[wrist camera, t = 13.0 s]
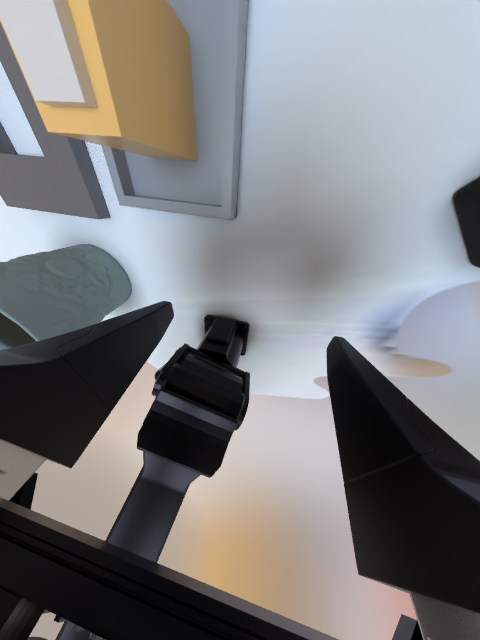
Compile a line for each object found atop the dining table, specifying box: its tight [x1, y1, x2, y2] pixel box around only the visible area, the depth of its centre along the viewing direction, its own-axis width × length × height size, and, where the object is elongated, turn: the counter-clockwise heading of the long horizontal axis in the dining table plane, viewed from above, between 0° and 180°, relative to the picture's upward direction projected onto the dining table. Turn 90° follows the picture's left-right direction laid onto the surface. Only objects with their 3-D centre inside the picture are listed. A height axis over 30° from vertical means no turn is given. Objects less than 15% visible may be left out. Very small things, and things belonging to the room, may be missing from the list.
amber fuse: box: [0, 0, 197, 161], centre depth 9 cm, size 6×4×9 cm
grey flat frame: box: [0, 22, 110, 219], centre depth 14 cm, size 16×12×2 cm
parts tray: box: [102, 0, 248, 220], centre depth 12 cm, size 13×11×2 cm
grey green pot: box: [0, 245, 131, 350], centre depth 20 cm, size 10×10×12 cm
